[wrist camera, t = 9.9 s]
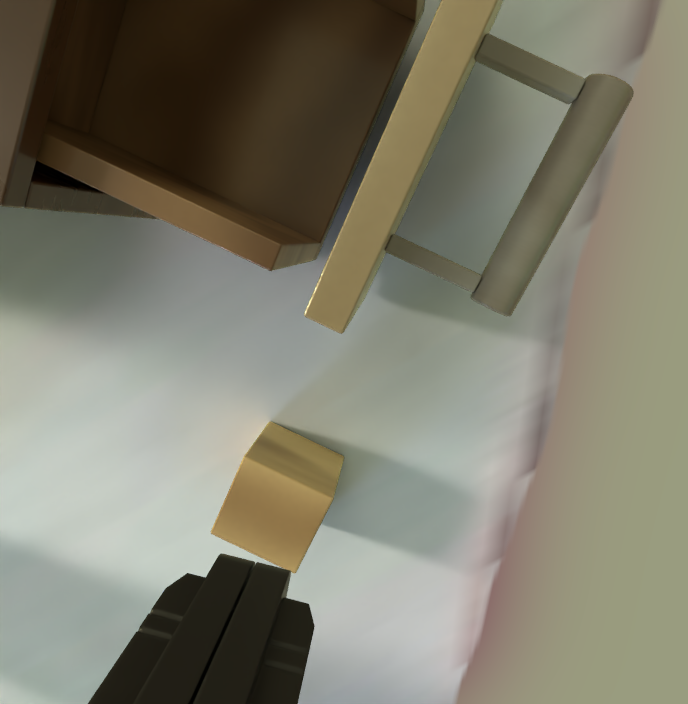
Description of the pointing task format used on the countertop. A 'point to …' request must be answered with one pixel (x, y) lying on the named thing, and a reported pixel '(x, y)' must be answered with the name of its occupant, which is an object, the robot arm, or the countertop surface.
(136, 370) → the countertop surface
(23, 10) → the cabinet
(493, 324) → the countertop surface
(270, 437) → the block
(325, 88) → the drawer
